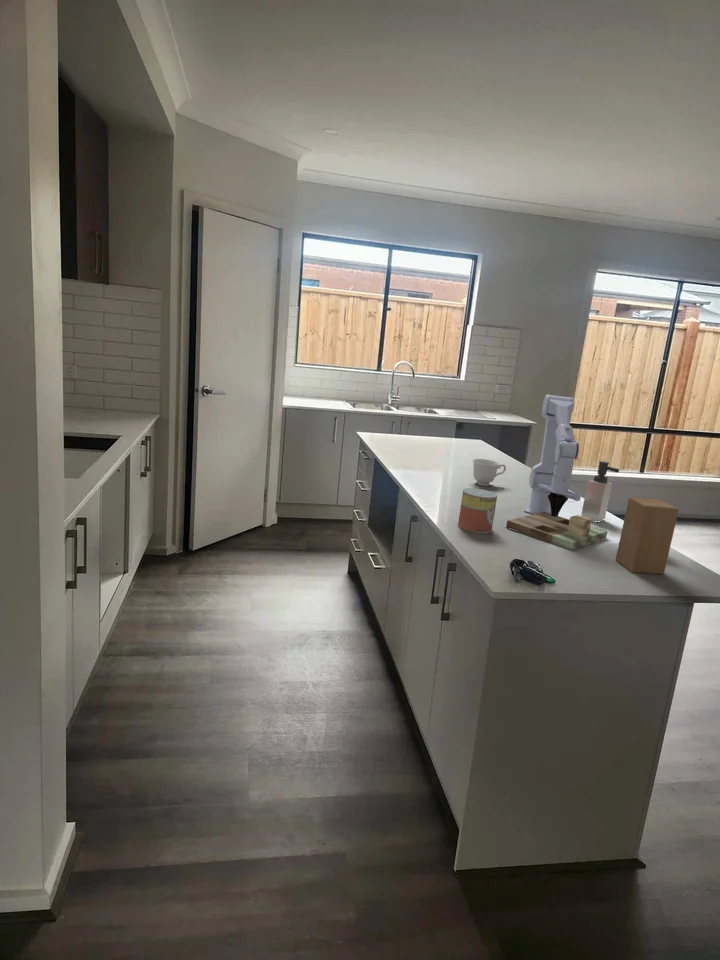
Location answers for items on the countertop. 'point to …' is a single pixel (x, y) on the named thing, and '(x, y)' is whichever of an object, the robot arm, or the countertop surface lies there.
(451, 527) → the countertop surface
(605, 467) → the soap dispenser
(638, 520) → the wooden block
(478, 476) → the teacup
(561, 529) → the trap board
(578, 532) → the maple cube
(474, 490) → the canned food
